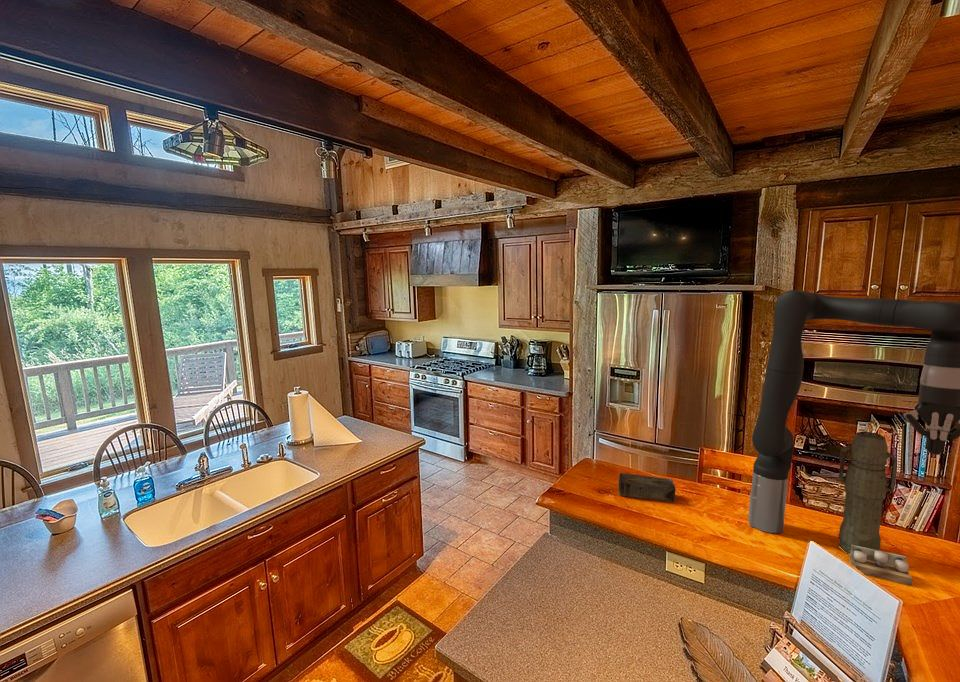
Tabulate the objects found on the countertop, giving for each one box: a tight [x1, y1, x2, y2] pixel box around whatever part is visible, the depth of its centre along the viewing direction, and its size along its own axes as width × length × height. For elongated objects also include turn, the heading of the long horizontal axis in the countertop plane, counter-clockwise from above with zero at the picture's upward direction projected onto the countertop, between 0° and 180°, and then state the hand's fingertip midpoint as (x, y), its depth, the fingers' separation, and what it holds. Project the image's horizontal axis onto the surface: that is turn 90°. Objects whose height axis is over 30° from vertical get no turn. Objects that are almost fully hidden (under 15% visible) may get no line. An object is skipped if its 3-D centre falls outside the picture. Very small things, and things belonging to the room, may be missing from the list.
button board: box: [848, 545, 914, 587], centre depth 115 cm, size 11×6×5 cm, turn 62°
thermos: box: [838, 431, 898, 555], centre depth 123 cm, size 9×12×35 cm
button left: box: [853, 551, 867, 563], centre depth 117 cm, size 3×3×4 cm
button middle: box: [874, 550, 888, 568], centre depth 115 cm, size 3×3×4 cm
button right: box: [894, 560, 910, 573], centre depth 113 cm, size 3×3×4 cm
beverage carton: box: [618, 472, 676, 503], centre depth 159 cm, size 8×19×7 cm, turn 76°
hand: (934, 453), depth 106 cm, fingers closed
